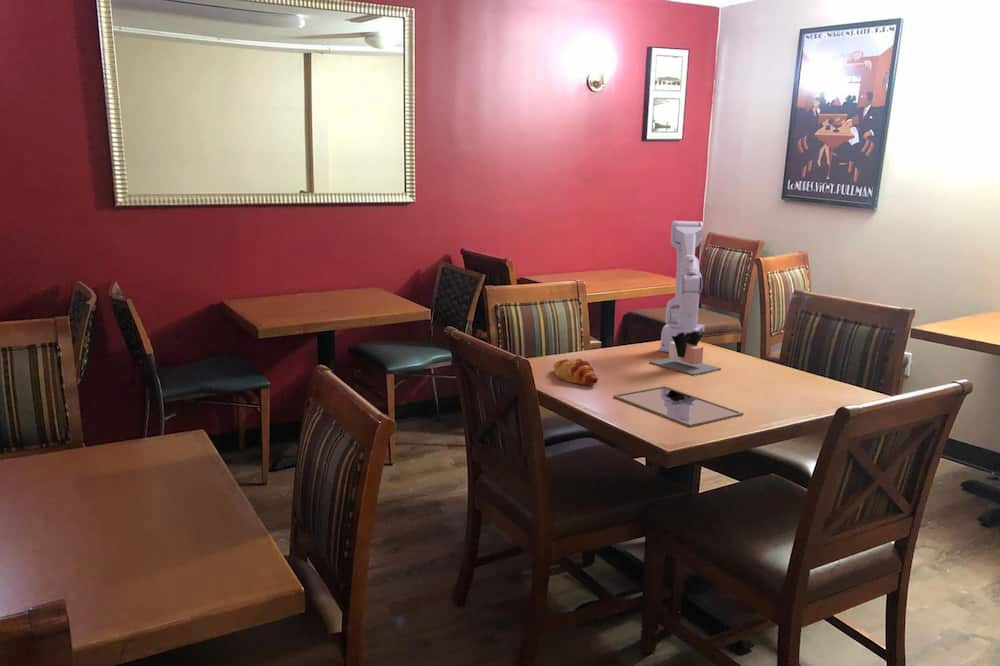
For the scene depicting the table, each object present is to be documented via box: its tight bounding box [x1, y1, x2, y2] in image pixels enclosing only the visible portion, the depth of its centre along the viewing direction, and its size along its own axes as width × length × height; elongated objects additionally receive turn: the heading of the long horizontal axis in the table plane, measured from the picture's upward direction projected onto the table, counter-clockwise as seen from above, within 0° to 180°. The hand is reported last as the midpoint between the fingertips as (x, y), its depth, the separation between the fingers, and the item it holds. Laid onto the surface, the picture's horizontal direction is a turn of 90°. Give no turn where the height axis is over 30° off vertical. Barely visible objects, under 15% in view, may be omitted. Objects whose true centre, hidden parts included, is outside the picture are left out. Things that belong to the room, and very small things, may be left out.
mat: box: [648, 357, 722, 376], centre depth 245 cm, size 18×13×1 cm
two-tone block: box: [668, 342, 704, 365], centre depth 244 cm, size 4×10×5 cm, turn 36°
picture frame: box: [612, 385, 744, 428], centre depth 204 cm, size 19×1×28 cm
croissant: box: [553, 357, 599, 386], centre depth 227 cm, size 21×10×8 cm, turn 30°
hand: (685, 355), depth 244 cm, fingers closed on two-tone block, 4 cm apart
